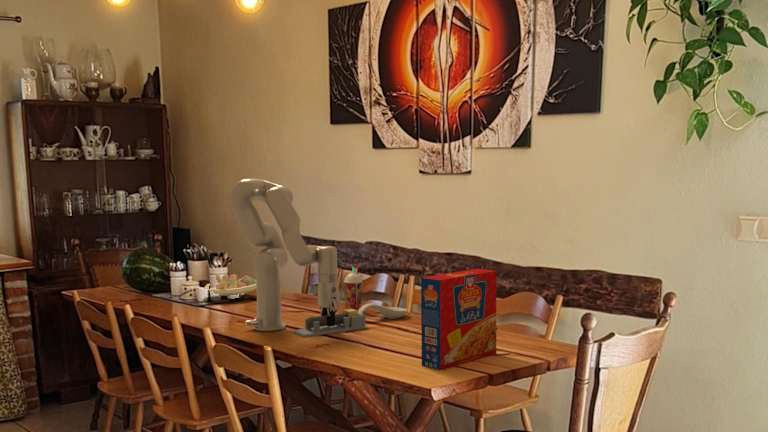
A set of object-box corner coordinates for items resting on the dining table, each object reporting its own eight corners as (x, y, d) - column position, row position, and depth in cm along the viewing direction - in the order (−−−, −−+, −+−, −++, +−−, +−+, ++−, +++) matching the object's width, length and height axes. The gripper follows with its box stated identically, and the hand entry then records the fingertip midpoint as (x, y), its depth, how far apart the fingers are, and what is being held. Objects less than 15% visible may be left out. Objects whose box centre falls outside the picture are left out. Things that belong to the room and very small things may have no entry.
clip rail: (304, 337, 254) (303, 324, 254) (293, 332, 261) (293, 320, 261) (365, 328, 269) (365, 315, 268) (354, 324, 276) (353, 311, 276)
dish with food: (203, 305, 319) (202, 275, 319) (202, 295, 346) (202, 267, 346) (263, 302, 327) (263, 272, 326) (258, 292, 354) (257, 265, 353)
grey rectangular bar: (312, 329, 258) (312, 316, 258) (306, 326, 262) (306, 314, 262) (357, 322, 269) (357, 310, 269) (351, 320, 273) (351, 308, 273)
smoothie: (366, 312, 300) (366, 266, 299) (350, 314, 296) (349, 268, 295) (356, 309, 307) (355, 265, 306) (340, 311, 303) (339, 266, 301)
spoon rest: (397, 313, 297) (397, 297, 297) (413, 318, 288) (413, 301, 287) (350, 320, 284) (350, 303, 284) (365, 325, 275) (365, 307, 274)
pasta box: (440, 370, 209) (440, 280, 207) (421, 365, 215) (421, 277, 213) (496, 353, 228) (496, 270, 227) (477, 349, 234) (477, 268, 232)
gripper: (346, 280, 259) (347, 327, 260) (325, 274, 272) (326, 320, 274) (329, 281, 254) (330, 330, 255) (309, 276, 268) (309, 322, 269)
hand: (328, 324), depth 264 cm, fingers closed on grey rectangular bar, 4 cm apart
